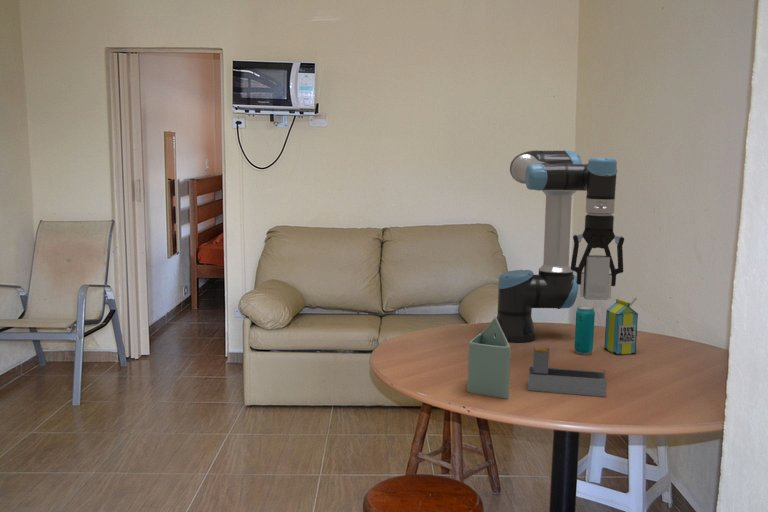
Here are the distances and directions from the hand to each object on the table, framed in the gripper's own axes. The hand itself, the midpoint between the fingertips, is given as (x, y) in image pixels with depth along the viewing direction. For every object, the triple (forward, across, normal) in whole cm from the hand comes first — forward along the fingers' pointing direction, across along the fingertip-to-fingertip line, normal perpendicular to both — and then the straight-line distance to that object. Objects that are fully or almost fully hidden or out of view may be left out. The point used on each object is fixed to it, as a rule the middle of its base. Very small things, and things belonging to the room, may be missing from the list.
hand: (595, 296), depth 199 cm
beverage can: (+24, -1, +28) cm, 37 cm away
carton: (+24, +11, +33) cm, 43 cm away
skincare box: (+1, 0, 0) cm, 1 cm away
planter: (+24, -29, -19) cm, 42 cm away
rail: (+24, -7, -12) cm, 27 cm away
